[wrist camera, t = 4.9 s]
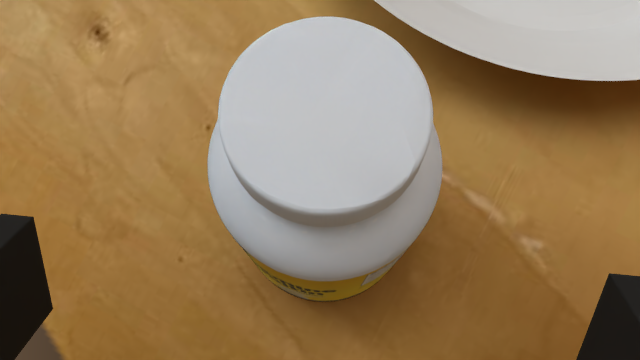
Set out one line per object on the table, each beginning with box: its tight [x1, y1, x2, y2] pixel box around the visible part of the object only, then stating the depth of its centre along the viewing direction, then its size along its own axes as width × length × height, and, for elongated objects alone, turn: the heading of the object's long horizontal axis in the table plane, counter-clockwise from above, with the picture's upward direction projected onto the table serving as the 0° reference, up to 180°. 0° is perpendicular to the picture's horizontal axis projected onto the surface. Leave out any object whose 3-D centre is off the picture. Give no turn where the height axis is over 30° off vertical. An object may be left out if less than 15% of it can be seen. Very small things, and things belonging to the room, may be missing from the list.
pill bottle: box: [208, 17, 442, 302], centre depth 17 cm, size 6×6×12 cm
